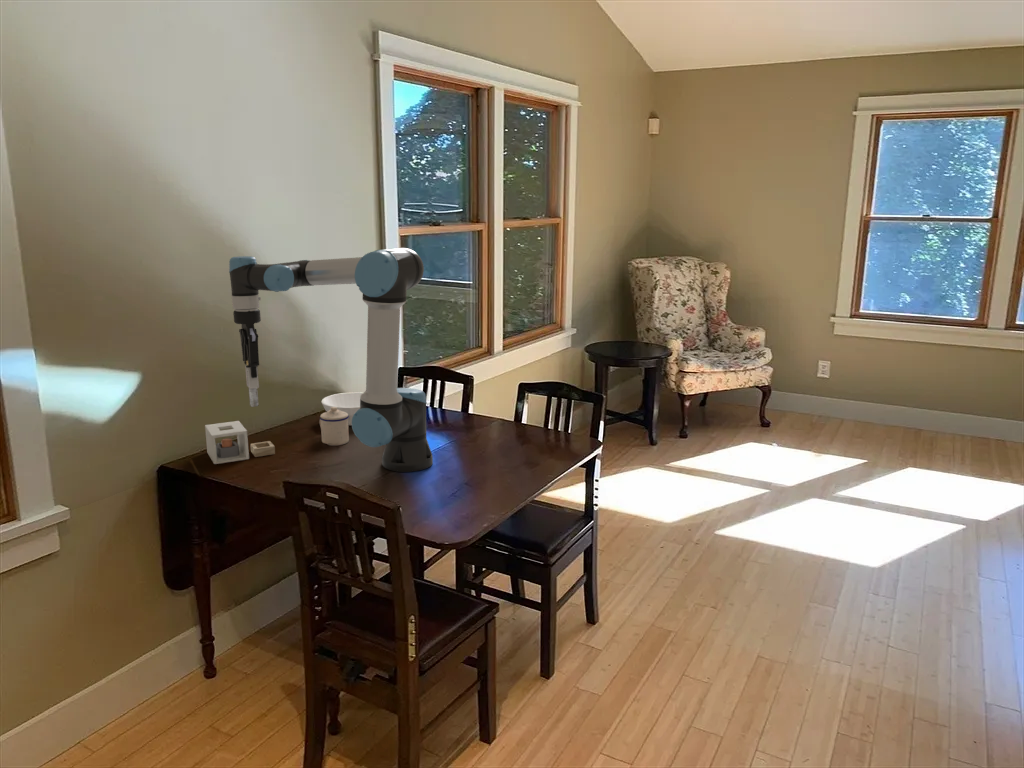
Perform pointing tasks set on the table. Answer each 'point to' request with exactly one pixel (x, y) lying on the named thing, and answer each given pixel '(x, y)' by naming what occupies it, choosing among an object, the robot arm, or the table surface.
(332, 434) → the teacup with lid
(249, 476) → the table surface
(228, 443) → the button
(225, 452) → the white hollow frame cube
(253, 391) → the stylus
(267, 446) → the stylus stand
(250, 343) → the robot arm
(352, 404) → the bowl
